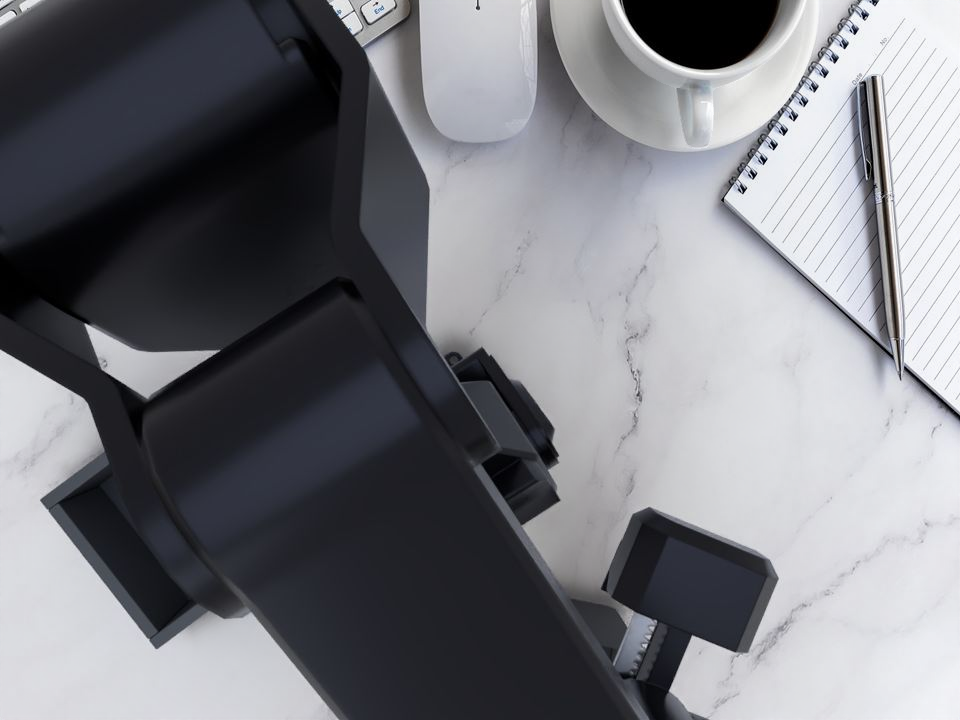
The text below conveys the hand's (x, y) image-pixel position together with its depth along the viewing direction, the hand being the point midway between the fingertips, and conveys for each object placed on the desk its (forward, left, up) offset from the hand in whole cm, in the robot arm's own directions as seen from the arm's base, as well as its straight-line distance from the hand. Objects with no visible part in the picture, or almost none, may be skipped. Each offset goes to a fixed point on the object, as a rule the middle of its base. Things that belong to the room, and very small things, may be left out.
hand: (590, 664), depth 44 cm
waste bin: (+13, -19, -8) cm, 24 cm away
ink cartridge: (0, 0, -8) cm, 8 cm away
